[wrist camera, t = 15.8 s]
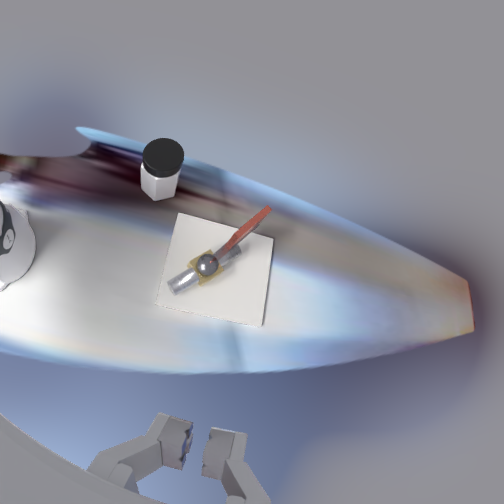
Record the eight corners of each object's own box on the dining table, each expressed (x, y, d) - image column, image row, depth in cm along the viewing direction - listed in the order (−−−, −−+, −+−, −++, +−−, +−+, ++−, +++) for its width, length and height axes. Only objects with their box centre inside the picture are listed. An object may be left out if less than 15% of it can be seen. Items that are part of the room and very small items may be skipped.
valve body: (177, 301, 55) (178, 298, 52) (163, 279, 55) (164, 275, 52) (241, 261, 62) (246, 256, 58) (228, 241, 62) (232, 236, 59)
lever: (206, 280, 54) (215, 270, 47) (192, 264, 54) (199, 251, 47) (261, 230, 61) (277, 215, 54) (248, 216, 61) (262, 199, 54)
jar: (186, 185, 64) (194, 155, 53) (161, 208, 60) (164, 180, 49) (159, 162, 63) (163, 130, 52) (134, 183, 60) (132, 152, 49)
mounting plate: (155, 304, 54) (155, 304, 53) (178, 214, 61) (178, 212, 60) (259, 326, 60) (261, 326, 59) (271, 240, 67) (273, 238, 66)
